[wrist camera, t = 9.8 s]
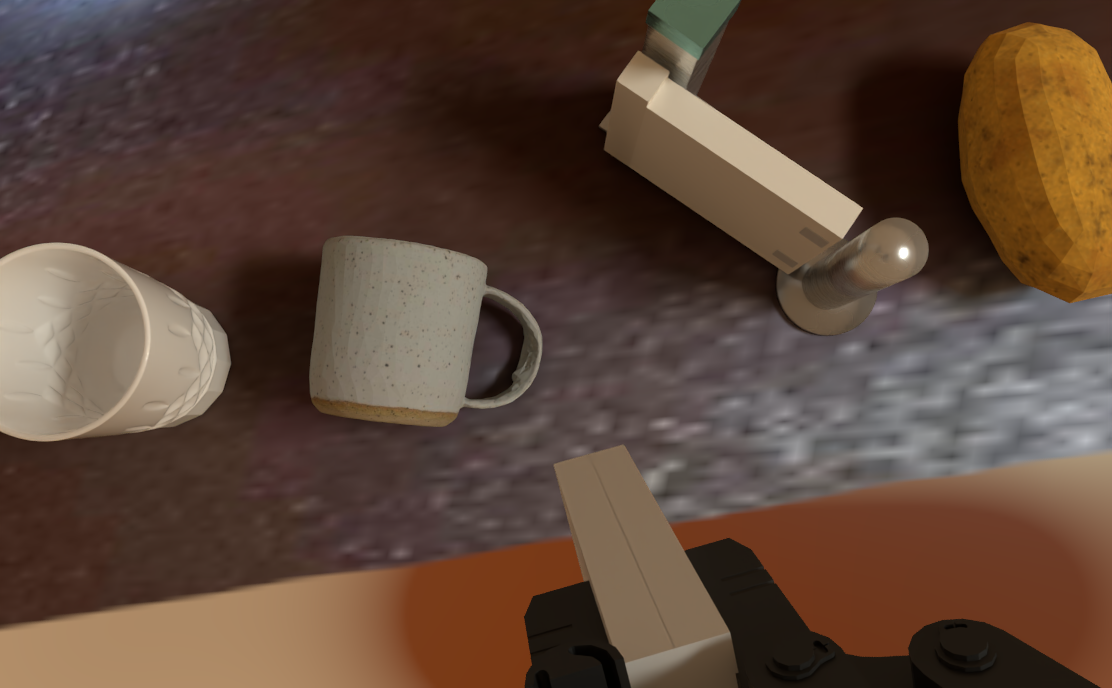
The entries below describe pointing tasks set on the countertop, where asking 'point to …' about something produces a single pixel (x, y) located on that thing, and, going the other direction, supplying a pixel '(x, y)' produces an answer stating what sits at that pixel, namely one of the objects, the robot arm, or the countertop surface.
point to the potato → (1041, 157)
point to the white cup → (100, 348)
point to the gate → (723, 169)
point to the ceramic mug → (404, 332)
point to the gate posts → (844, 268)
